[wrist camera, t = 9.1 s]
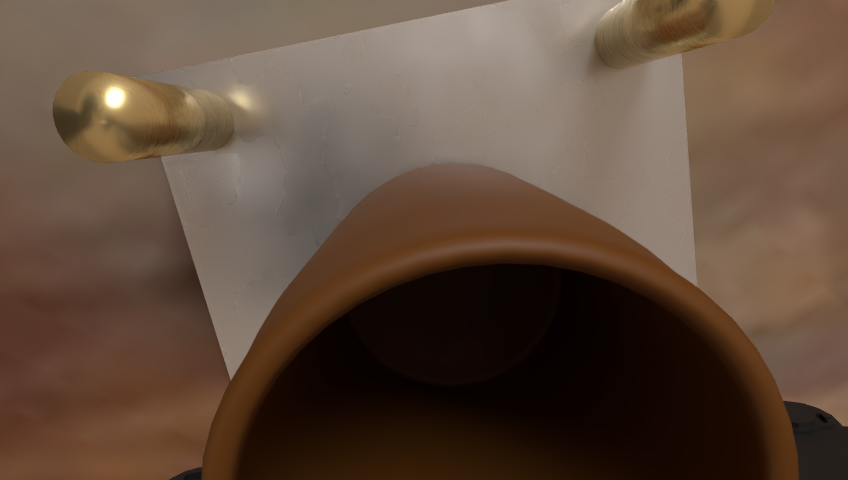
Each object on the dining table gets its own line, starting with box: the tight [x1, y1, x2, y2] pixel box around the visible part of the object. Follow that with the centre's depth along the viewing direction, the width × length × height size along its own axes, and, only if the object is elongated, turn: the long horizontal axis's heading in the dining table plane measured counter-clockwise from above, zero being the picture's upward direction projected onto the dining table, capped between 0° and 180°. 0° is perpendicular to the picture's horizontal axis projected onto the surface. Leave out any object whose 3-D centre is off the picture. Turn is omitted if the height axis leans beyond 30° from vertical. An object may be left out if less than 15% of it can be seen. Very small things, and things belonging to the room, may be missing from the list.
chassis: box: [53, 0, 776, 380], centre depth 15 cm, size 16×20×6 cm
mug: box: [201, 163, 799, 480], centre depth 11 cm, size 12×8×9 cm, turn 174°
